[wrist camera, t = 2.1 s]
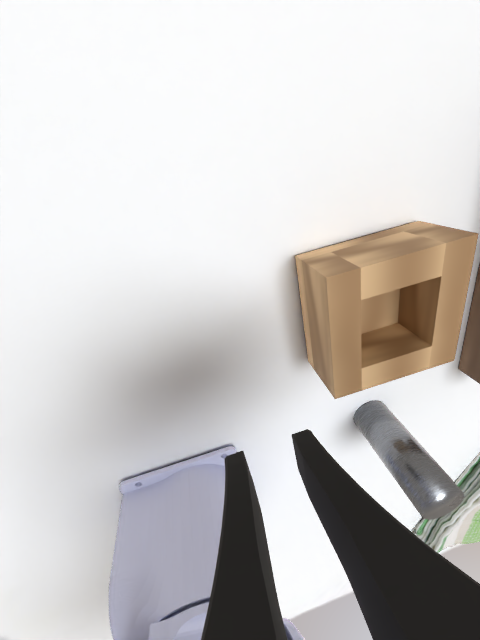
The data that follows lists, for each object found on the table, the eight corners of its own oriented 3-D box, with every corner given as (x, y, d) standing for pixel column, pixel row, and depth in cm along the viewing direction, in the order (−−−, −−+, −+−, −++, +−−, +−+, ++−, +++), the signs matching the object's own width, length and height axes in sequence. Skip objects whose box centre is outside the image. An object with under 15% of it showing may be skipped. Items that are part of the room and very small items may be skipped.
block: (308, 361, 21) (335, 399, 18) (295, 255, 17) (326, 277, 14) (409, 329, 22) (454, 360, 18) (418, 220, 18) (478, 233, 14)
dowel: (353, 430, 26) (419, 524, 19) (353, 407, 25) (423, 500, 18) (384, 420, 26) (460, 510, 19) (385, 396, 25) (467, 484, 18)
